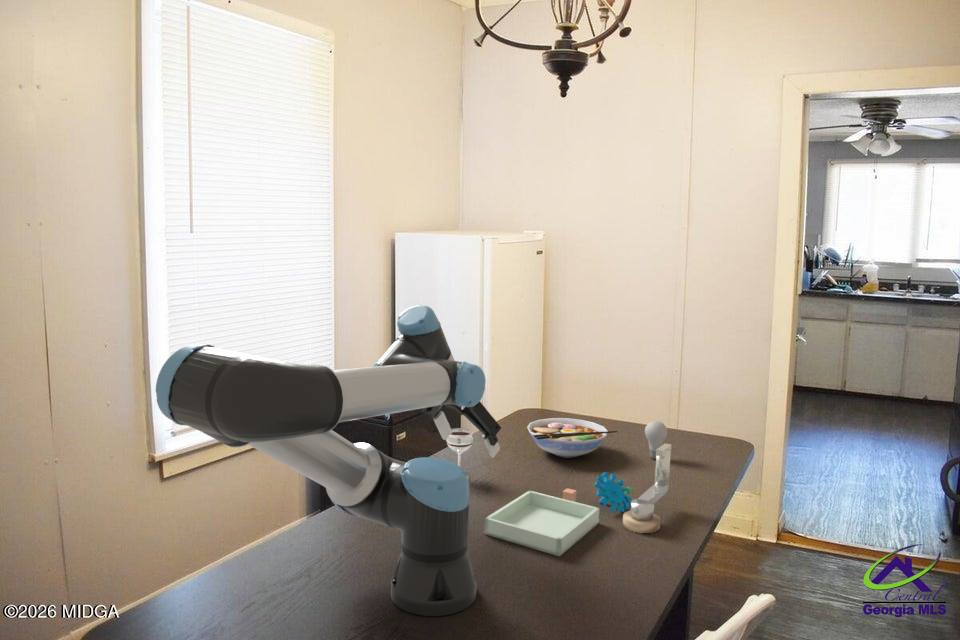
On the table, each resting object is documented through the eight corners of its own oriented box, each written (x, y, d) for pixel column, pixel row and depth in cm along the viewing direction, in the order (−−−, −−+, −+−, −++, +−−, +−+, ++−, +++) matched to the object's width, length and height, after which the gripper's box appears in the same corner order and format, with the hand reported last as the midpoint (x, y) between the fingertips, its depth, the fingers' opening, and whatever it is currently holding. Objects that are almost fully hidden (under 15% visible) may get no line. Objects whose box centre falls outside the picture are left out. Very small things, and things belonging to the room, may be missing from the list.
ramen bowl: (588, 439, 224) (589, 413, 223) (625, 463, 202) (626, 435, 201) (511, 444, 216) (512, 417, 215) (540, 470, 195) (542, 441, 194)
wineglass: (473, 473, 191) (474, 428, 190) (470, 482, 185) (471, 436, 183) (447, 472, 192) (448, 427, 190) (443, 481, 185) (444, 435, 184)
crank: (648, 523, 158) (652, 467, 156) (626, 517, 161) (630, 462, 159) (675, 497, 173) (678, 445, 171) (654, 492, 176) (657, 441, 174)
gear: (608, 511, 165) (591, 471, 170) (593, 523, 169) (577, 483, 174) (642, 508, 171) (625, 469, 176) (627, 519, 175) (610, 481, 180)
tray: (559, 556, 146) (560, 539, 145) (484, 534, 155) (484, 518, 155) (598, 523, 162) (599, 508, 162) (528, 504, 172) (529, 490, 171)
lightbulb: (668, 458, 208) (670, 420, 206) (661, 464, 203) (663, 425, 201) (647, 454, 211) (649, 416, 210) (639, 459, 206) (642, 421, 205)
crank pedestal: (652, 537, 156) (653, 528, 156) (617, 527, 160) (617, 518, 160) (664, 524, 163) (665, 515, 163) (630, 515, 167) (630, 507, 167)
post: (571, 510, 169) (572, 493, 169) (561, 507, 170) (562, 491, 170) (575, 506, 171) (576, 490, 171) (566, 504, 172) (567, 488, 172)
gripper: (499, 374, 142) (526, 447, 154) (407, 349, 157) (438, 417, 170) (477, 400, 138) (507, 473, 150) (384, 372, 153) (419, 440, 165)
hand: (471, 444), depth 160 cm, fingers open, 13 cm apart
